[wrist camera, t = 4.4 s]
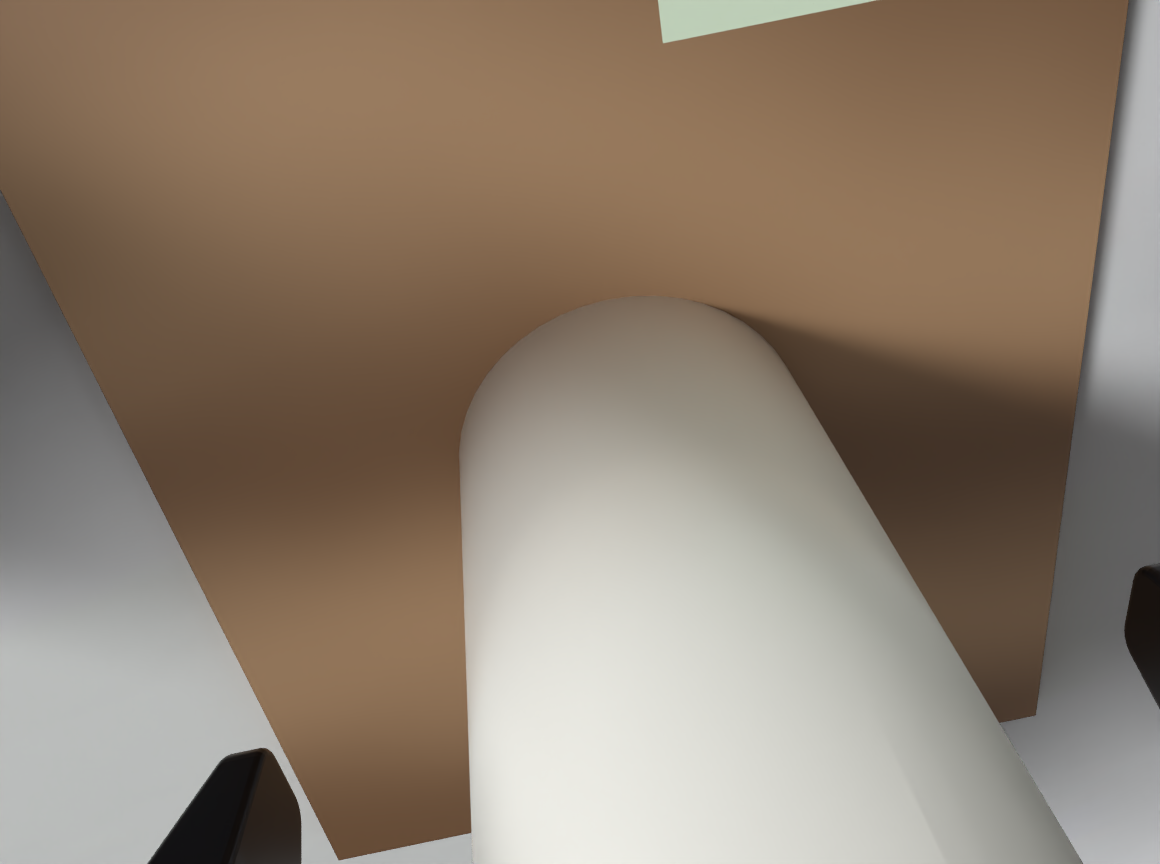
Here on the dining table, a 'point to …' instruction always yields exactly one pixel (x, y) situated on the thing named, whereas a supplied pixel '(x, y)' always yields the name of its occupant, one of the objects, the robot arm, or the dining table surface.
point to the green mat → (733, 14)
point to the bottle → (704, 623)
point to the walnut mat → (550, 295)
